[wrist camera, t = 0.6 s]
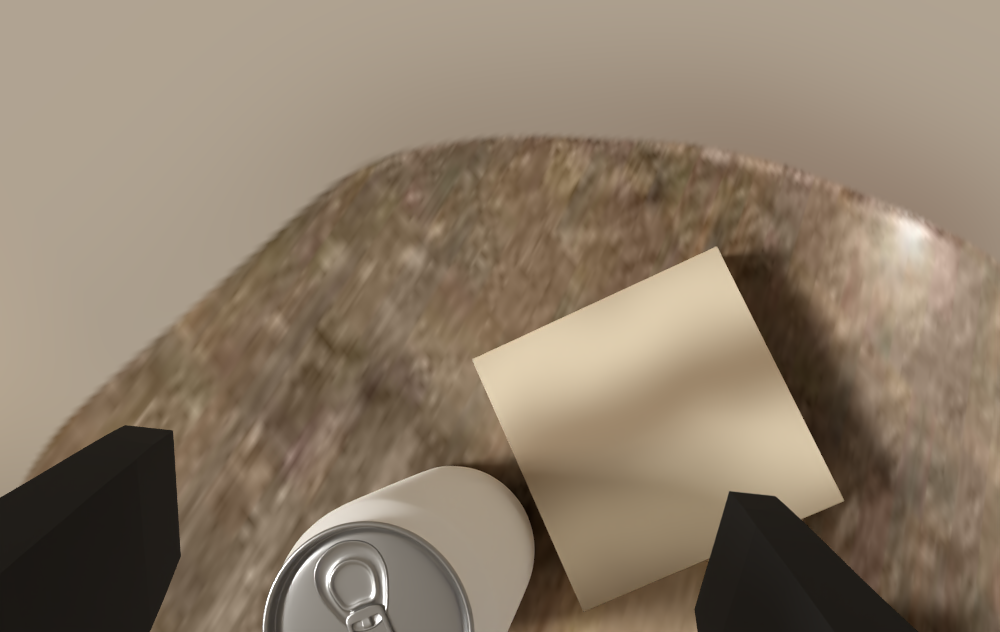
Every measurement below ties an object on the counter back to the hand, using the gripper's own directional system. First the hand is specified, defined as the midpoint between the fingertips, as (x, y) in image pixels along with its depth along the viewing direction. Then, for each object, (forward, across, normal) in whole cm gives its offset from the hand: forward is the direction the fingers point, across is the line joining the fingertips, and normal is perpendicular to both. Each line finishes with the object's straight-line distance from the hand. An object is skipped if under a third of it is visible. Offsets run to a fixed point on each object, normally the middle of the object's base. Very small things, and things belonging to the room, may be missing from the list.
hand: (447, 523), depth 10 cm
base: (+19, -7, +10) cm, 22 cm away
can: (+17, 0, +15) cm, 23 cm away
